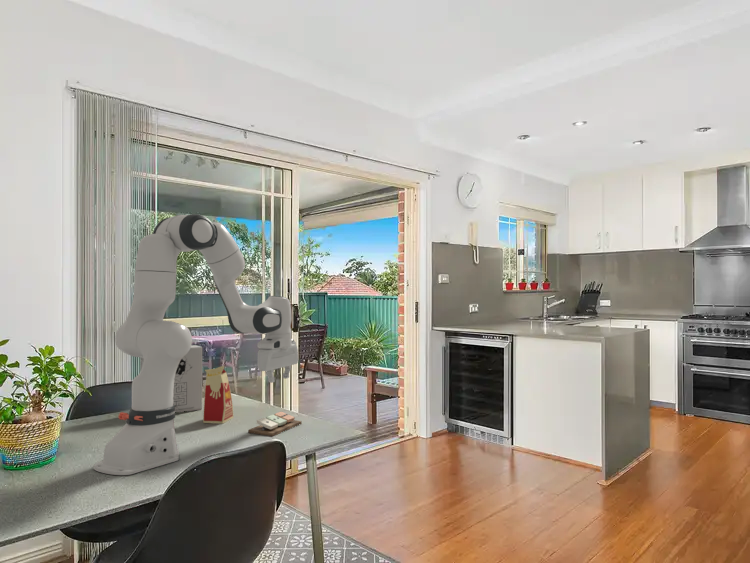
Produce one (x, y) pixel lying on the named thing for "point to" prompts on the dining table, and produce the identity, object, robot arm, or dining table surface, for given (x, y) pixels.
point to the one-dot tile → (267, 423)
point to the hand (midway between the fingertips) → (279, 380)
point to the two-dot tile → (276, 420)
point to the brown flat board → (274, 431)
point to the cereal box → (188, 381)
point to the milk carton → (217, 397)
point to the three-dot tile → (285, 416)
